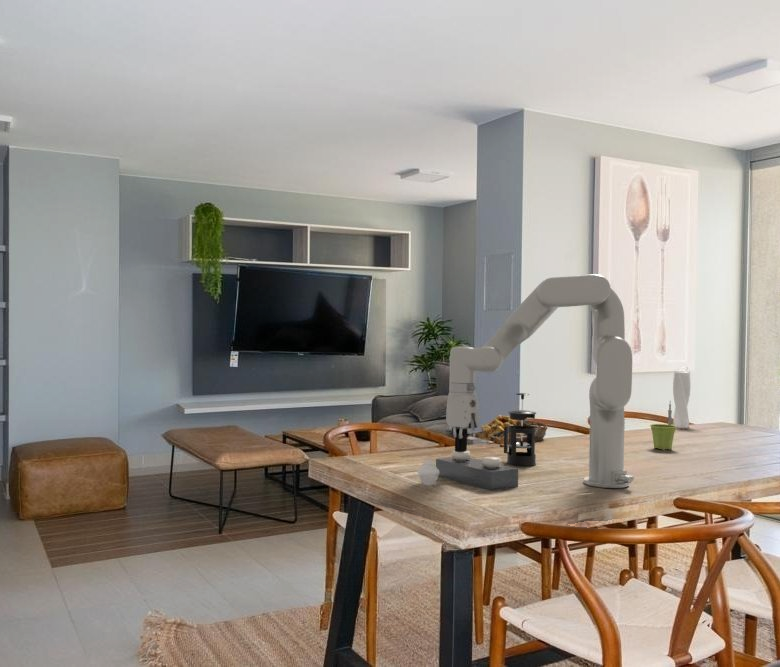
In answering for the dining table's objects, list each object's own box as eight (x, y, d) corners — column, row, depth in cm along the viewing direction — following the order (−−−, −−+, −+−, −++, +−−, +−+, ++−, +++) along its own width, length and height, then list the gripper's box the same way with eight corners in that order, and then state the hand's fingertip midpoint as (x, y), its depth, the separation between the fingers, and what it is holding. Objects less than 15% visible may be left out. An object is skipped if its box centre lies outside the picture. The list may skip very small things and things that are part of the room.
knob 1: (473, 473, 225) (473, 452, 225) (459, 474, 222) (460, 453, 222) (461, 470, 229) (462, 449, 229) (448, 472, 226) (448, 450, 226)
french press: (543, 464, 248) (544, 393, 248) (526, 468, 242) (528, 395, 241) (513, 460, 257) (514, 391, 256) (496, 463, 250) (497, 392, 250)
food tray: (523, 435, 322) (523, 410, 321) (569, 443, 300) (569, 416, 300) (457, 441, 302) (458, 414, 302) (501, 450, 281) (502, 421, 281)
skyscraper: (676, 427, 351) (677, 366, 351) (693, 429, 345) (694, 366, 345) (666, 428, 346) (667, 366, 346) (683, 430, 340) (684, 367, 340)
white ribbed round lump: (412, 484, 214) (413, 459, 214) (427, 481, 219) (428, 456, 219) (429, 487, 210) (429, 462, 210) (444, 484, 214) (444, 459, 214)
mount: (518, 486, 213) (518, 468, 213) (491, 490, 208) (491, 472, 208) (461, 472, 233) (461, 455, 233) (435, 475, 227) (435, 458, 227)
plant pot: (680, 451, 282) (680, 427, 282) (654, 450, 282) (654, 427, 282) (671, 447, 291) (671, 424, 291) (646, 446, 291) (646, 423, 291)
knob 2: (504, 481, 214) (504, 458, 214) (490, 483, 211) (490, 460, 211) (491, 477, 219) (492, 456, 219) (477, 479, 216) (478, 457, 216)
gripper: (489, 390, 221) (487, 454, 222) (455, 386, 234) (454, 447, 234) (469, 391, 217) (467, 456, 217) (436, 387, 229) (434, 448, 230)
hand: (460, 451), depth 226 cm, fingers closed
